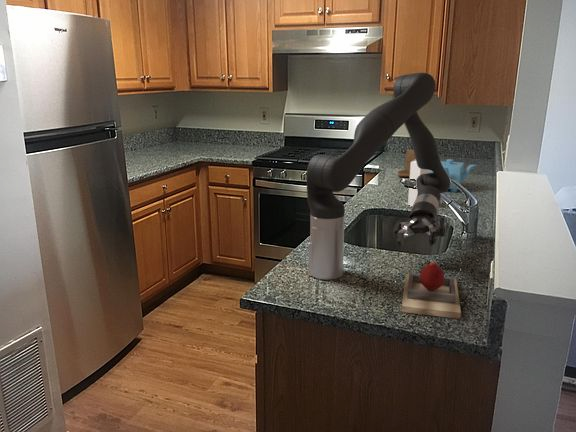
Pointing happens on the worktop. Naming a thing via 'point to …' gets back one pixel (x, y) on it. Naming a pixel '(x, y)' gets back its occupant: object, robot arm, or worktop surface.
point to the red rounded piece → (431, 276)
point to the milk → (414, 174)
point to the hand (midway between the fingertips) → (415, 243)
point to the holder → (431, 298)
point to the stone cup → (407, 164)
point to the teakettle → (455, 172)
